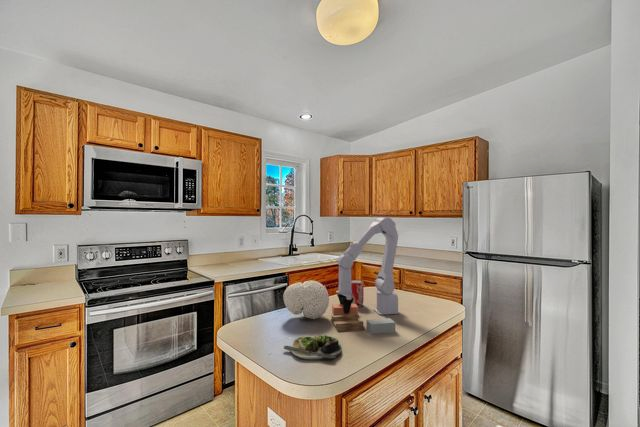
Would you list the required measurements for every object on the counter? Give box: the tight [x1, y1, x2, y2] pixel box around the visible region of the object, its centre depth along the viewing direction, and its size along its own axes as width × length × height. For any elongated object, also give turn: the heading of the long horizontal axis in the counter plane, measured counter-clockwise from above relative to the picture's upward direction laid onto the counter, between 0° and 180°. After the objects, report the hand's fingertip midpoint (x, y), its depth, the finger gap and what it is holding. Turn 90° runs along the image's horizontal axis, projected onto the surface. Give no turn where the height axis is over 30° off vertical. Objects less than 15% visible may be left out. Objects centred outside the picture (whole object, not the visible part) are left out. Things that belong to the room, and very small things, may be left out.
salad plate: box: [283, 334, 342, 361], centre depth 102 cm, size 19×18×5 cm
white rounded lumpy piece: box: [282, 279, 330, 320], centre depth 132 cm, size 20×18×16 cm
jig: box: [330, 314, 366, 332], centre depth 125 cm, size 11×12×2 cm
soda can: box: [351, 279, 364, 308], centre depth 151 cm, size 7×7×12 cm
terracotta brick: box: [331, 303, 359, 316], centre depth 138 cm, size 11×5×4 cm, turn 96°
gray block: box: [365, 317, 396, 335], centre depth 119 cm, size 10×5×4 cm, turn 101°
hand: (345, 311), depth 138 cm, fingers closed on terracotta brick, 5 cm apart
